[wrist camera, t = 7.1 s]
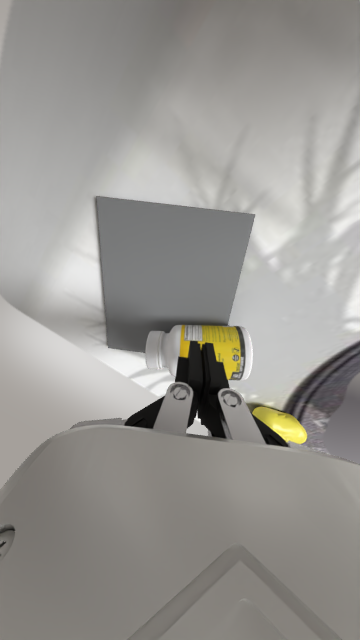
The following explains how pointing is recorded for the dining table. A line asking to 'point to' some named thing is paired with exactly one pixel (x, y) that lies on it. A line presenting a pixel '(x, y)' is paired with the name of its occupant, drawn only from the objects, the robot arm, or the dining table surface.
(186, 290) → the charcoal mat
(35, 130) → the dining table surface
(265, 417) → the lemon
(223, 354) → the supplement bottle
